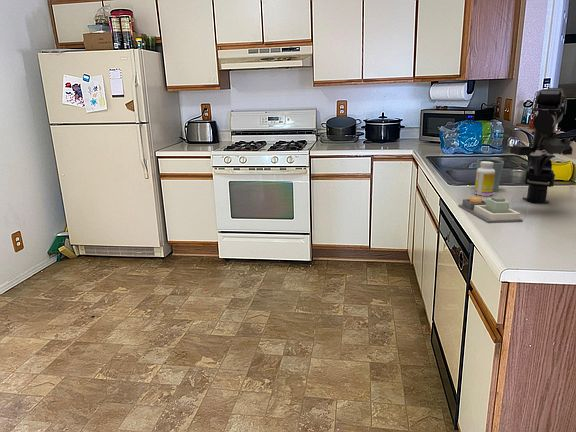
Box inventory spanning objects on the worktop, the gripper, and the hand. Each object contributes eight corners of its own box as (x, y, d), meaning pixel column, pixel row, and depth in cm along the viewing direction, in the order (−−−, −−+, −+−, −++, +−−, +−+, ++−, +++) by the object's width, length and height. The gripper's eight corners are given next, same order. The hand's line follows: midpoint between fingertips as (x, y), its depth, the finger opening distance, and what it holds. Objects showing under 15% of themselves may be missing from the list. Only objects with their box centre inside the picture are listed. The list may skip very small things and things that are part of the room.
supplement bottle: (495, 194, 175) (500, 162, 171) (485, 197, 171) (490, 164, 167) (480, 191, 180) (484, 160, 176) (470, 193, 176) (474, 161, 173)
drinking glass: (493, 186, 189) (496, 158, 185) (505, 192, 179) (509, 162, 176) (469, 186, 188) (472, 158, 185) (480, 192, 179) (484, 162, 175)
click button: (466, 204, 156) (467, 196, 156) (477, 204, 157) (478, 196, 156) (472, 207, 153) (473, 199, 152) (483, 207, 153) (484, 198, 152)
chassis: (458, 206, 158) (459, 198, 158) (488, 205, 160) (489, 197, 159) (487, 222, 139) (488, 214, 139) (522, 221, 140) (523, 213, 140)
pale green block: (484, 212, 148) (486, 196, 147) (497, 212, 149) (499, 195, 147) (494, 217, 142) (496, 200, 141) (507, 217, 143) (510, 200, 141)
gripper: (533, 131, 139) (525, 180, 143) (588, 131, 140) (579, 179, 145) (512, 128, 149) (506, 173, 154) (564, 127, 151) (556, 172, 155)
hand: (537, 175), depth 152 cm, fingers closed
